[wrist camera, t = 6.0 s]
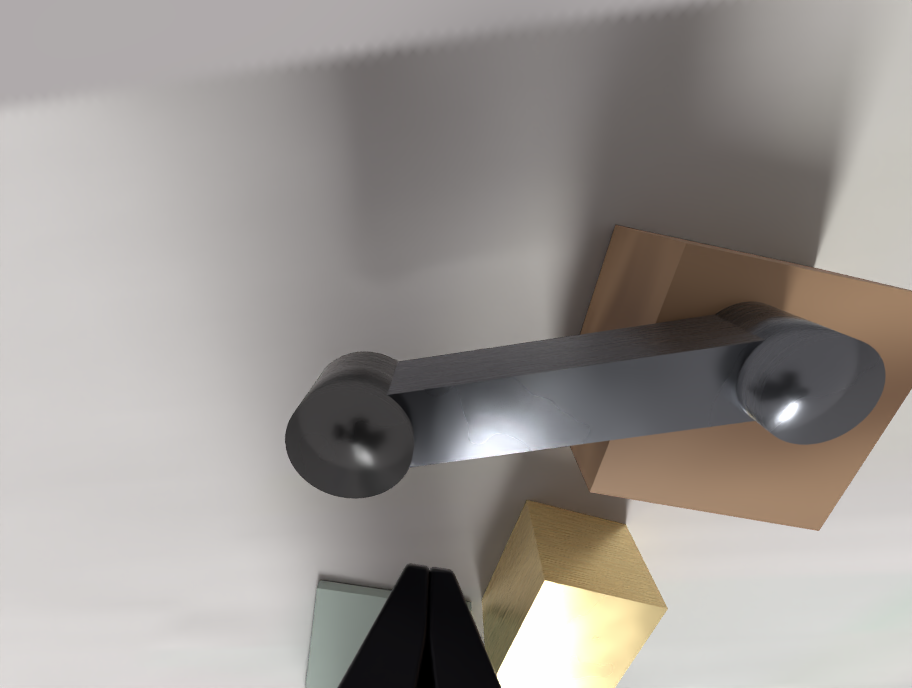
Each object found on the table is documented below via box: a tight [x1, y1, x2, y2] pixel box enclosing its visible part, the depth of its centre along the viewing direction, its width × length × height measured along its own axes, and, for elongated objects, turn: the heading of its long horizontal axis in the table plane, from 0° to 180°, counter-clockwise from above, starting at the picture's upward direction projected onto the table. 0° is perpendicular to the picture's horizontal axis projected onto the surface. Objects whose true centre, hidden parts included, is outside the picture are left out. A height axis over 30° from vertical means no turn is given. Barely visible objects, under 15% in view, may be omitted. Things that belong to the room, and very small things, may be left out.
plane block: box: [570, 225, 912, 531], centre depth 13 cm, size 7×7×4 cm
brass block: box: [482, 500, 668, 688], centre depth 17 cm, size 6×4×4 cm
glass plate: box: [305, 580, 471, 688], centre depth 21 cm, size 8×7×1 cm
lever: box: [285, 301, 886, 498], centre depth 9 cm, size 11×3×2 cm, turn 99°
